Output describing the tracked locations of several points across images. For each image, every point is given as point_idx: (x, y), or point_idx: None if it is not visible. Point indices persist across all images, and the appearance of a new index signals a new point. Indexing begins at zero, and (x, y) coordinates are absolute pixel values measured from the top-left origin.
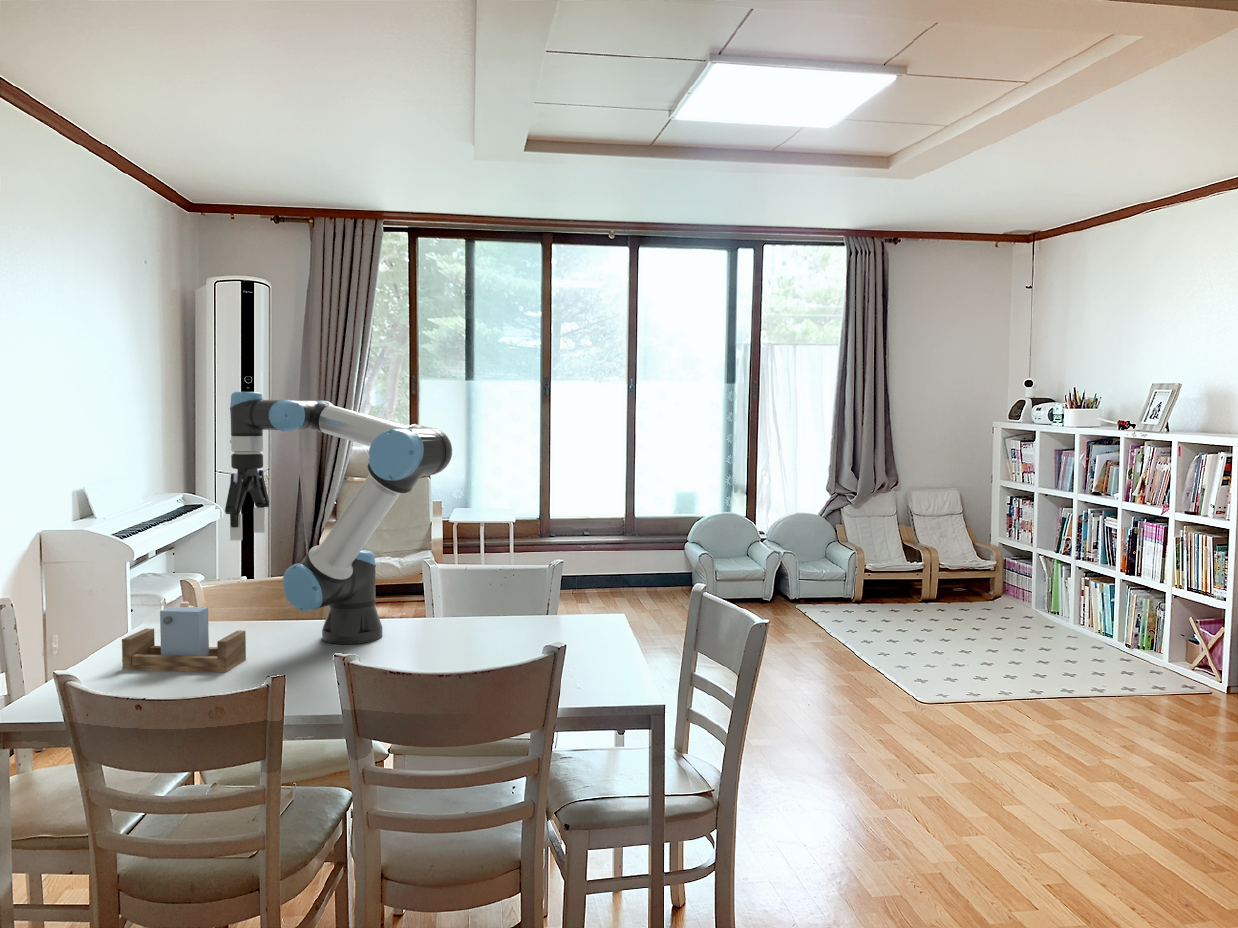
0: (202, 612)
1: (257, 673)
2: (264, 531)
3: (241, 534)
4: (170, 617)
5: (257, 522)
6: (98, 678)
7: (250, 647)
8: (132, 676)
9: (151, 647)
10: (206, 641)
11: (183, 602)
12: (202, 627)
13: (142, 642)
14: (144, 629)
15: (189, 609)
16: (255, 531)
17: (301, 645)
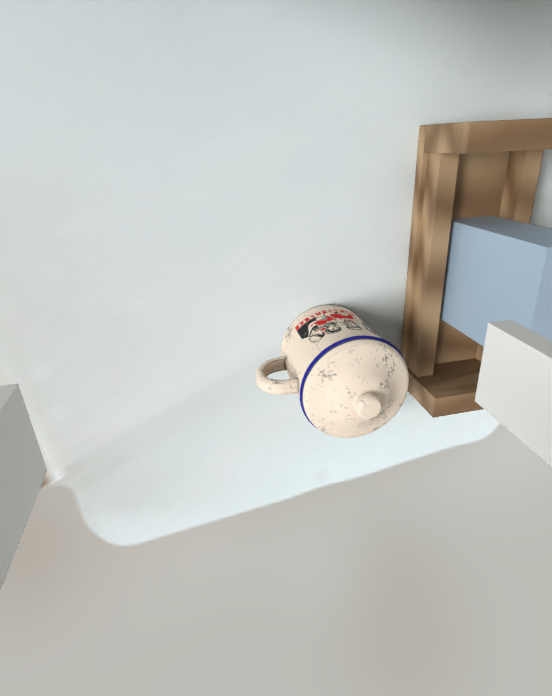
0: None
1: (548, 17)
2: (6, 390)
3: (536, 340)
4: None
5: (4, 516)
6: None
7: (291, 182)
8: None
9: (432, 371)
10: (486, 226)
11: (373, 410)
12: (540, 232)
13: (473, 380)
14: (442, 414)
15: None
16: (40, 465)
17: (244, 5)
